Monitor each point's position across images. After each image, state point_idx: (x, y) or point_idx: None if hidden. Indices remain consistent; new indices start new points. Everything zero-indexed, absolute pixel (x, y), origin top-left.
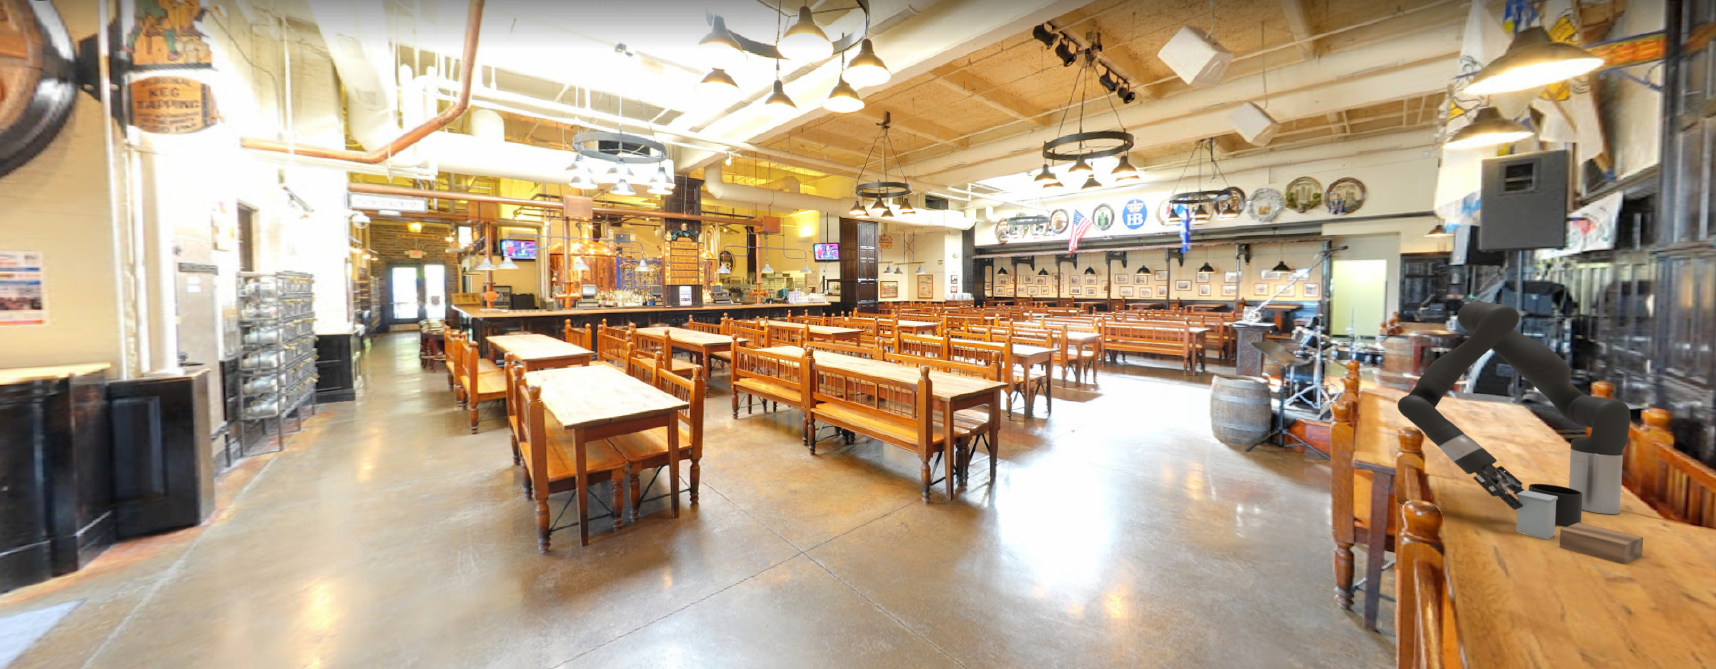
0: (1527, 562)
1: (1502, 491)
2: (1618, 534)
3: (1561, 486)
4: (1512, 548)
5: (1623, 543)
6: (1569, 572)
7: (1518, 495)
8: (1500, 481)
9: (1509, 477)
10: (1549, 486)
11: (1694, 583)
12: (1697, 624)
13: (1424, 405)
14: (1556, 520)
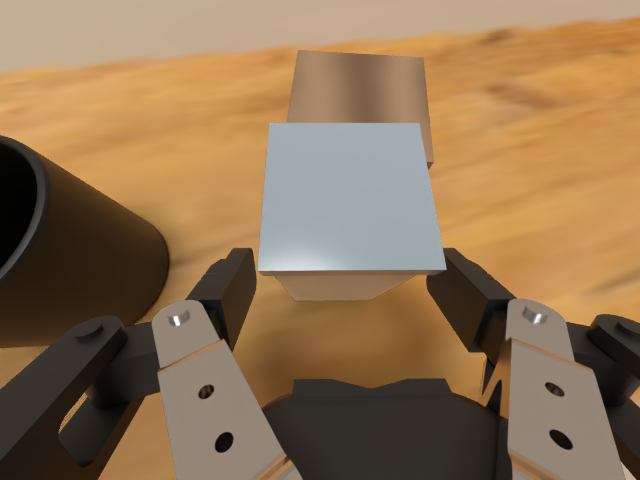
0: (628, 206)
1: (623, 322)
2: (329, 78)
3: None
4: (556, 258)
5: (415, 61)
6: (588, 146)
7: (437, 261)
8: (597, 402)
9: (220, 404)
10: None
11: (407, 43)
12: (617, 22)
13: None
14: (158, 248)
